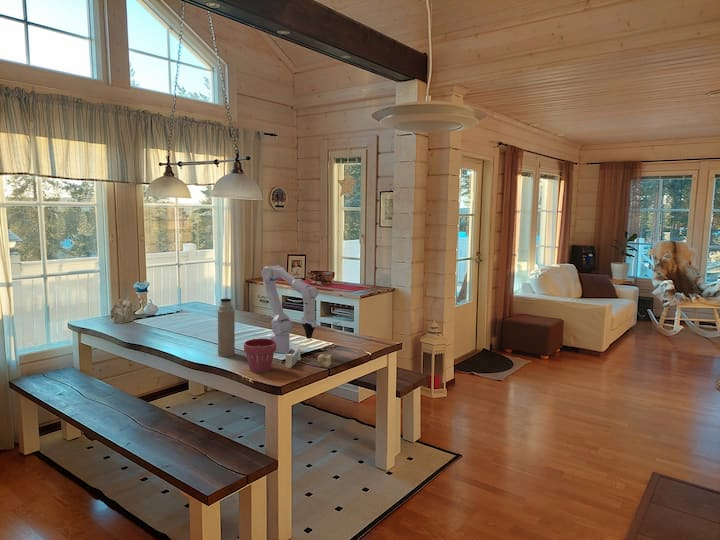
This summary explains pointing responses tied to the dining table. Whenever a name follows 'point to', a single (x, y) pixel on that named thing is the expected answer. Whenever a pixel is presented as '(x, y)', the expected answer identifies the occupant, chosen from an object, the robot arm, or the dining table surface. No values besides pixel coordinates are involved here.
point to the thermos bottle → (226, 329)
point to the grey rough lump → (122, 312)
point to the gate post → (298, 353)
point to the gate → (294, 357)
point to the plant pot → (260, 354)
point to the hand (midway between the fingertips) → (308, 338)
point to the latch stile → (288, 360)
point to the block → (324, 360)
